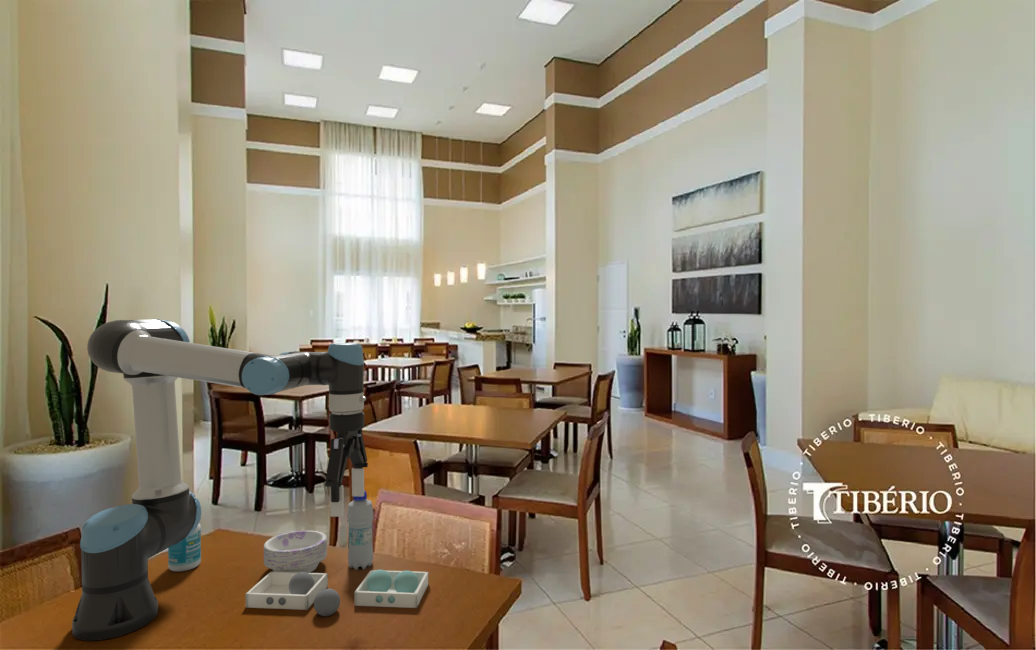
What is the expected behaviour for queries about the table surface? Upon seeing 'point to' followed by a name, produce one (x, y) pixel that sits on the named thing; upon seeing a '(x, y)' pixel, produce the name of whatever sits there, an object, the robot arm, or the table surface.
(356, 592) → the dish right
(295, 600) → the dish left
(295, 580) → the charcoal ball
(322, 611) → the charcoal ball
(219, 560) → the table surface
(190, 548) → the pill bottle
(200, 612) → the table surface
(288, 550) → the paper bowls
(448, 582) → the table surface
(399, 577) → the teal ball
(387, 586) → the teal ball
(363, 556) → the bottle
